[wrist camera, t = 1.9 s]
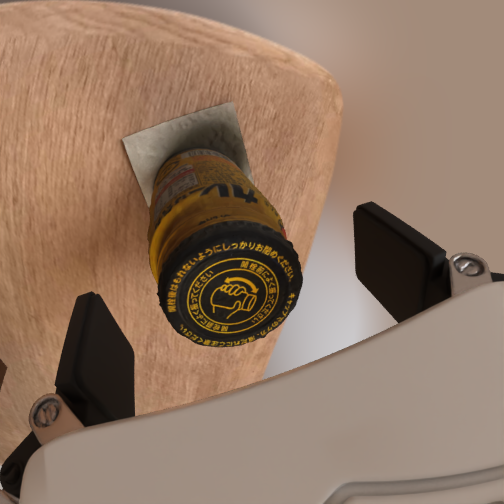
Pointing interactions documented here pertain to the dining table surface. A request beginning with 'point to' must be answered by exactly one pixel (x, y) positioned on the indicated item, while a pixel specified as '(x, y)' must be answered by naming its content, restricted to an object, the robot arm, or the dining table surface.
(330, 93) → the dining table surface
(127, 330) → the dining table surface
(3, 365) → the shelf
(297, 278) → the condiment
